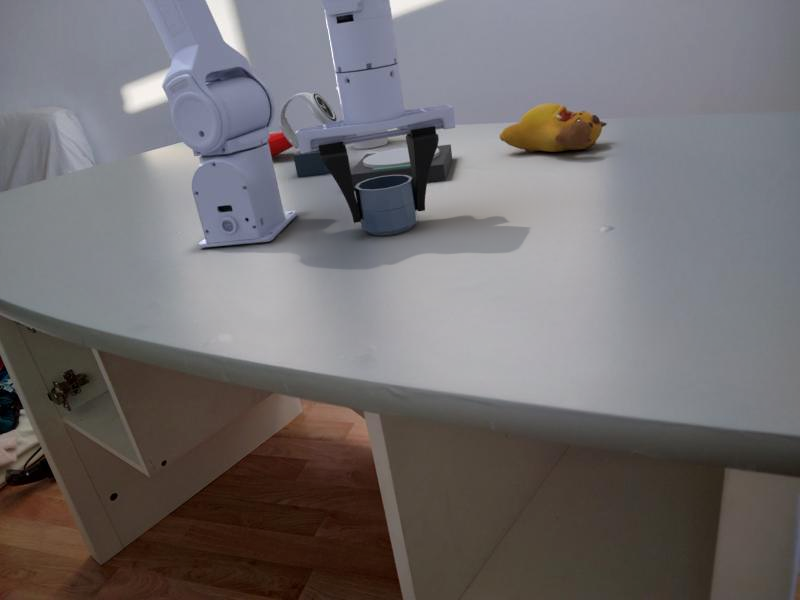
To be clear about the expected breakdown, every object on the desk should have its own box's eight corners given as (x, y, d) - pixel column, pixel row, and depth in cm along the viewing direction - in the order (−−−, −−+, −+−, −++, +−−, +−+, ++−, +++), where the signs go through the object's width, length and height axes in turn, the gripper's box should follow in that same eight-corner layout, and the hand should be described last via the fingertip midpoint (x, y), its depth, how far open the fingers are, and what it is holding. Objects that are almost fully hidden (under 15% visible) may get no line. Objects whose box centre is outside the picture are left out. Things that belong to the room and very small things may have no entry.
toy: (553, 110, 92) (638, 112, 79) (544, 156, 93) (627, 164, 81) (493, 96, 86) (574, 95, 74) (484, 145, 87) (563, 152, 75)
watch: (339, 172, 91) (325, 92, 87) (286, 178, 93) (269, 99, 88) (348, 163, 96) (335, 87, 92) (297, 169, 98) (281, 94, 93)
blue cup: (414, 234, 60) (408, 186, 59) (358, 239, 62) (349, 192, 60) (421, 216, 65) (415, 172, 64) (368, 221, 66) (361, 178, 65)
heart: (241, 167, 114) (228, 174, 105) (232, 144, 113) (218, 148, 104) (304, 146, 114) (297, 151, 104) (296, 123, 112) (287, 125, 103)
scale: (445, 180, 78) (443, 160, 77) (349, 190, 80) (346, 170, 79) (452, 158, 89) (450, 140, 88) (368, 168, 91) (365, 150, 90)
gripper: (437, 54, 62) (453, 192, 67) (287, 78, 61) (315, 216, 66) (452, 56, 55) (468, 209, 61) (284, 83, 54) (316, 235, 60)
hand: (389, 214), depth 63 cm, fingers closed on blue cup, 6 cm apart
